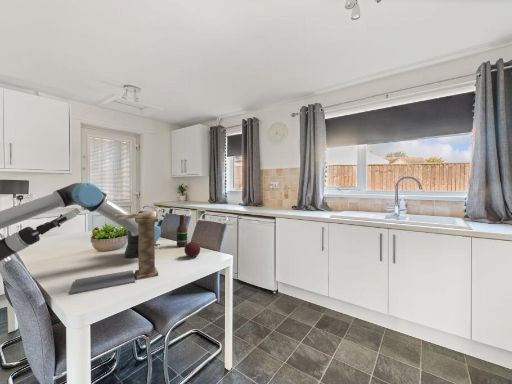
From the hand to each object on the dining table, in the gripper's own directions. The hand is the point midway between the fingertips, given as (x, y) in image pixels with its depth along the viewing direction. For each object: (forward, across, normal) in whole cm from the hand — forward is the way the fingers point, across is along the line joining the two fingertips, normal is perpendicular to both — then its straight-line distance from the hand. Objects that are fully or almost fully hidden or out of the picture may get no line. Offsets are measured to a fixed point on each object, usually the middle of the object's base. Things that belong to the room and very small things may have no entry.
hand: (77, 211), depth 111 cm
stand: (+8, -3, +45) cm, 46 cm away
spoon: (+19, -3, +16) cm, 25 cm away
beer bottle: (+34, +44, +60) cm, 81 cm away
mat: (-8, -3, +36) cm, 36 cm away
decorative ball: (+34, +14, +60) cm, 70 cm away
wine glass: (+19, +57, +51) cm, 79 cm away
